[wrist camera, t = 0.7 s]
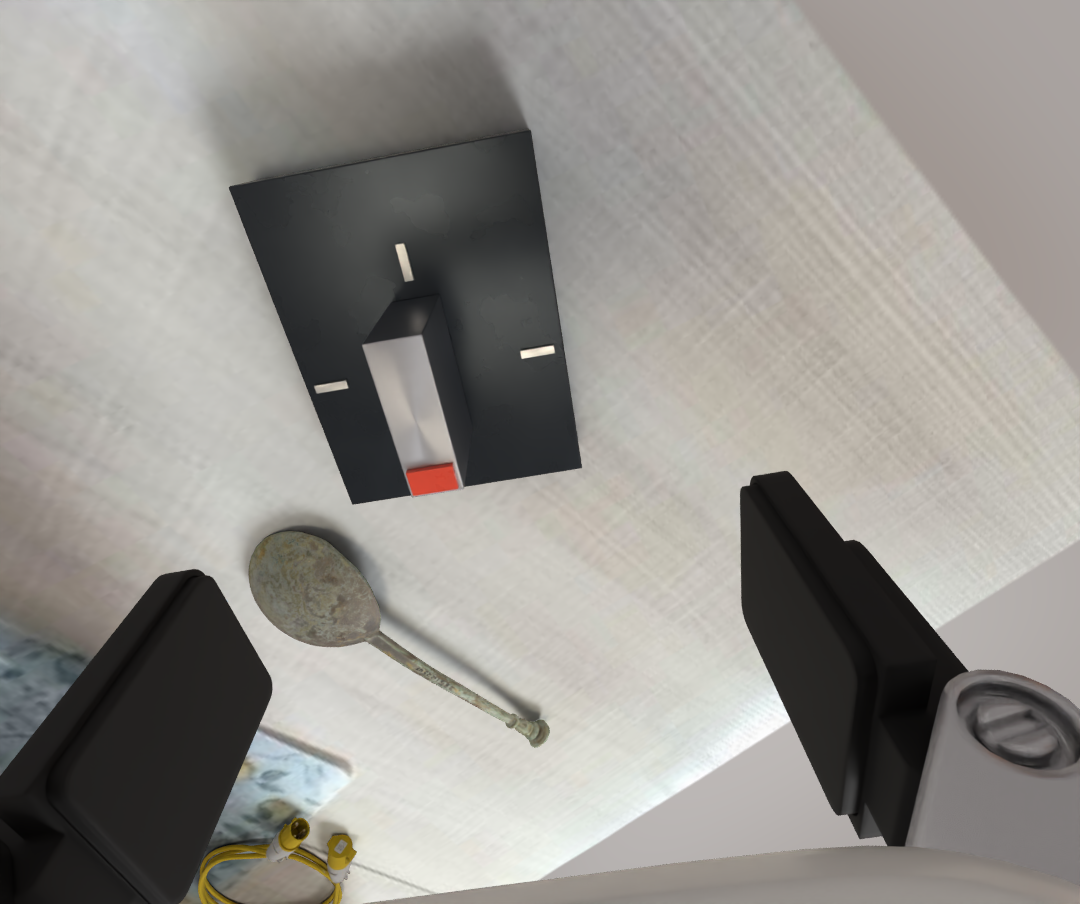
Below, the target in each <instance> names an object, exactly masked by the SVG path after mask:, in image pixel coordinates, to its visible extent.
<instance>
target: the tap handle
mask: <svg viewBox="0 0 1080 904" xmlns="http://www.w3.org/2000/svg"><path fill="white" fill-rule="evenodd" d="M362 347H363V350H364V353H365V356H366V360H367V363H368V366H369V369H370V372H371V375H372V378H373V381H374V384H375V387H376V390H377V393H378V396H379V399H380V402H381V405H382V408H383V411H384V414H385V417H386V420H387V424H388V427H389V430H390V433H391V436H392V439H393V442H394V445H395V448H396V451H397V454H398V457H399V460H400V463H401V466H402V469H403V472H404V475H405V478H406V481H407V484H408V488H409V491H410V494H411V496H412V497H417V496H423V495H430V494H436V493H442V492H448V491H455V490H461V489H464V485H465V478H466V471H467V464H468V457H469V450H470V442H471V435H472V428H473V427H472V423H471V419H470V415H469V411H468V407H467V403H466V399H465V395H464V391H463V387H462V383H461V379H460V375H459V371H458V367H457V363H456V359H455V355H454V351H453V347H452V343H451V339H450V335H449V331H448V327H447V323H446V319H445V315H444V311H443V306H442V302H441V298H440V295H432V296H427V297H421V298H415V299H410V300H404V301H398V302H393V303H390V304H389V306H388V307H387V309H386V310H385V312H384V313H383V315H382V316H381V318H380V319H379V321H378V322H377V323H376V325H375V326H374V328H373V329H372V331H371V332H370V334H369V335H368V337H367V338H366V340H365V341H364V343H363V344H362Z"/></svg>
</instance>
